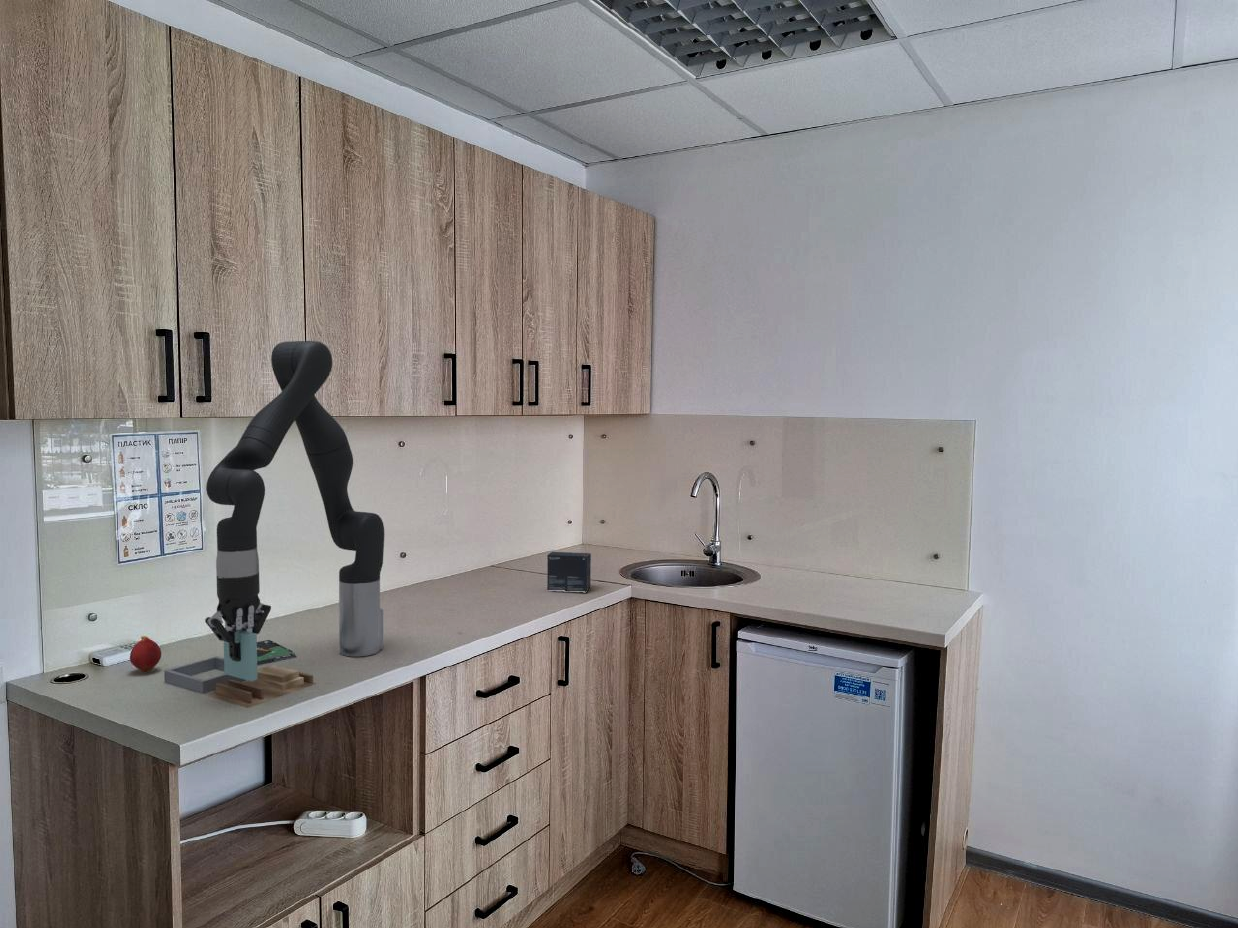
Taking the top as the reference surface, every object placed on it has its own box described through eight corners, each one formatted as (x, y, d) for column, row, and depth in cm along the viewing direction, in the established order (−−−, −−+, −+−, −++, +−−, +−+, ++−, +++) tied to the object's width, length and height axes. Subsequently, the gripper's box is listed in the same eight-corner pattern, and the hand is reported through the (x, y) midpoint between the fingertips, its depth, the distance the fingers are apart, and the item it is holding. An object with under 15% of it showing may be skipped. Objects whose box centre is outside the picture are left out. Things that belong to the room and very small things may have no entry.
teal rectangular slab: (230, 671, 163) (229, 627, 162) (257, 679, 159) (256, 633, 158) (224, 673, 162) (223, 629, 161) (251, 681, 158) (250, 635, 157)
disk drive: (224, 659, 189) (251, 674, 178) (224, 647, 188) (251, 661, 178) (269, 650, 196) (298, 663, 186) (269, 638, 196) (297, 651, 186)
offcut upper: (269, 671, 172) (269, 665, 172) (299, 676, 169) (299, 670, 169) (252, 677, 168) (252, 671, 168) (282, 683, 165) (282, 676, 165)
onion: (148, 666, 181) (147, 630, 180) (167, 669, 179) (167, 633, 178) (124, 674, 175) (123, 637, 175) (143, 677, 173) (142, 640, 173)
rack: (274, 677, 175) (274, 663, 175) (316, 688, 169) (316, 673, 168) (204, 700, 161) (204, 684, 161) (247, 713, 155) (247, 697, 154)
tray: (216, 672, 178) (216, 655, 178) (254, 682, 172) (254, 665, 171) (164, 687, 168) (164, 670, 167) (203, 699, 162) (202, 681, 161)
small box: (591, 589, 265) (591, 552, 265) (586, 594, 259) (587, 556, 258) (551, 587, 267) (551, 550, 267) (546, 591, 261) (546, 554, 260)
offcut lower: (274, 675, 173) (274, 669, 172) (303, 683, 168) (303, 677, 168) (253, 682, 168) (253, 676, 168) (283, 690, 164) (283, 684, 164)
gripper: (255, 563, 166) (257, 647, 168) (193, 575, 155) (195, 665, 156) (280, 567, 163) (282, 653, 164) (218, 580, 151) (221, 672, 152)
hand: (240, 659), depth 160 cm, fingers closed on teal rectangular slab, 1 cm apart
